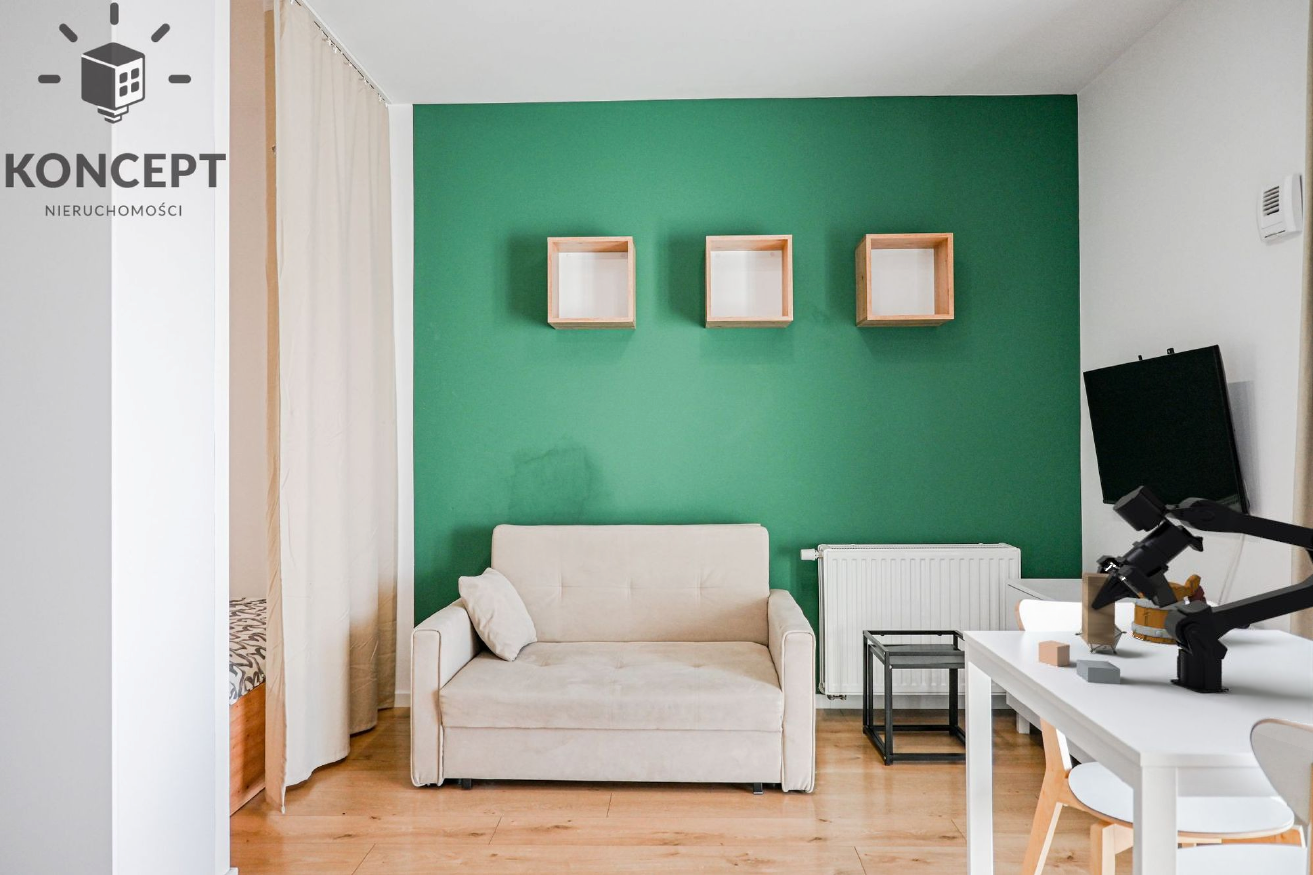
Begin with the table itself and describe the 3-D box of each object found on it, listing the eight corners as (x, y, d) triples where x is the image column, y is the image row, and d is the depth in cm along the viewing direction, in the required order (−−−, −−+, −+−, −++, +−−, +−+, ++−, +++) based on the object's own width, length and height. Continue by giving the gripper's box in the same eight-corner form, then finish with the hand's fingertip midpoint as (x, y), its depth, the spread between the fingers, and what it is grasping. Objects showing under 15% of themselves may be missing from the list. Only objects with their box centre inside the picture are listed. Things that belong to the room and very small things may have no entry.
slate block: (1107, 676, 149) (1107, 661, 149) (1120, 685, 144) (1120, 668, 144) (1076, 675, 150) (1076, 659, 150) (1087, 683, 145) (1088, 667, 145)
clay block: (1069, 664, 157) (1069, 644, 157) (1057, 667, 155) (1057, 646, 155) (1051, 659, 160) (1051, 640, 161) (1038, 662, 158) (1038, 642, 159)
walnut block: (1108, 640, 149) (1108, 573, 149) (1114, 645, 145) (1115, 577, 145) (1081, 638, 150) (1082, 572, 150) (1087, 643, 146) (1088, 576, 146)
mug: (1119, 633, 186) (1120, 569, 186) (1191, 634, 185) (1191, 570, 186) (1146, 644, 175) (1146, 576, 175) (1222, 646, 174) (1222, 578, 175)
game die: (1102, 667, 169) (1121, 628, 171) (1120, 663, 161) (1140, 622, 163) (1062, 643, 171) (1081, 605, 174) (1078, 638, 163) (1098, 598, 166)
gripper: (1212, 591, 134) (1139, 650, 137) (1174, 575, 152) (1110, 628, 155) (1160, 543, 137) (1089, 602, 140) (1128, 532, 155) (1066, 585, 157)
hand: (1089, 606), depth 148 cm, fingers closed on walnut block, 4 cm apart
